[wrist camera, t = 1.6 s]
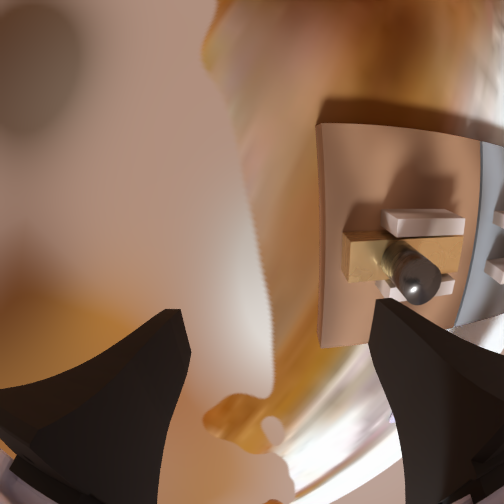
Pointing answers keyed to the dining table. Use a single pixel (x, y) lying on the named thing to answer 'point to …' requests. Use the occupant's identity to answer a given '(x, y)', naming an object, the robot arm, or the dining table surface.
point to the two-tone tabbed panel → (408, 220)
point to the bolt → (401, 261)
